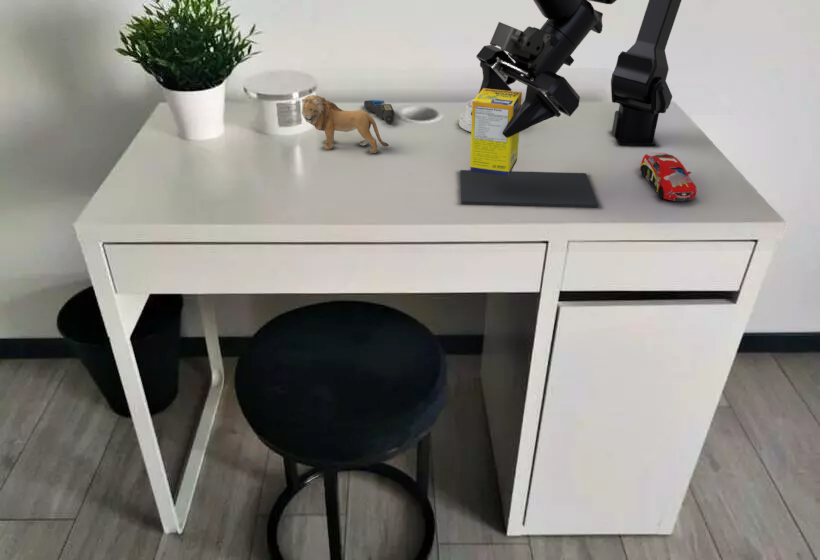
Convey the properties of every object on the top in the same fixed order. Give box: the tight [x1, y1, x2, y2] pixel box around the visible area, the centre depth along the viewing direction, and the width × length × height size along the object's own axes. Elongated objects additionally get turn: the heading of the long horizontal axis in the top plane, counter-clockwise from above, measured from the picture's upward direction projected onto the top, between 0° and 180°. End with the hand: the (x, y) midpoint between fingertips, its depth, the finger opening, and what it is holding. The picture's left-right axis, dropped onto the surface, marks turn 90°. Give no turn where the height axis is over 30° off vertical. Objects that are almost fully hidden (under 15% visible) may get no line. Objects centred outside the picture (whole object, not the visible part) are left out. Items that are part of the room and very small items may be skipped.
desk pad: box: [459, 169, 599, 208], centre depth 109 cm, size 20×11×1 cm, turn 87°
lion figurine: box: [301, 94, 390, 154], centre depth 120 cm, size 15×5×9 cm, turn 86°
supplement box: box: [469, 88, 523, 176], centre depth 103 cm, size 6×6×11 cm
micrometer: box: [363, 99, 395, 124], centre depth 135 cm, size 12×2×5 cm
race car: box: [639, 152, 698, 202], centre depth 109 cm, size 13×5×4 cm, turn 2°
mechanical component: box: [458, 97, 475, 133], centre depth 130 cm, size 10×4×10 cm
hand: (488, 125), depth 102 cm, fingers closed on supplement box, 8 cm apart
